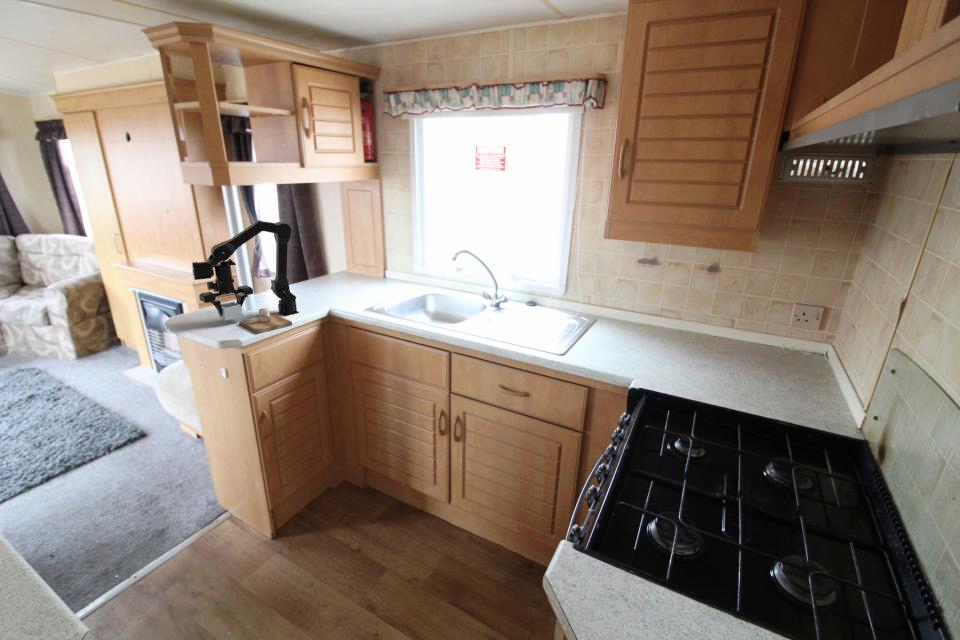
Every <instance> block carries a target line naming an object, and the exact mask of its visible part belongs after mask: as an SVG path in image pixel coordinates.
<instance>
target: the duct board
mask: <svg viewBox="0 0 960 640" xmlns="http://www.w3.org/2000/svg"><path fill="white" fill-rule="evenodd" d="M258 313H259V314H258V315H259V316H255V317H251V318H245V319H241V320H238V321H239V322H238V323H239V325H240V326H242V327H244V328H246V329H248V330H250V331H252V333H253V332H254V333H255V334H257V335H261V334H263V333H267V332H272V331H275V330H279V329H283V328H286V327H291V326H293V322H292V321H291V320H289V319H286V318H284V317H282V316H280V315H278V314H275V313H274V312H273V313H271V312H270V308H268V307H267V308H263V307H262V308H260V309H258Z"/></svg>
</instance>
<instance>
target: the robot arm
mask: <svg viewBox="0 0 960 640" xmlns="http://www.w3.org/2000/svg"><path fill="white" fill-rule="evenodd" d="M262 232H267V233H272V234H273V237H274V240H275V243H276V247H275V249H276V254H275V256H276V257H275V277H274V279H270V284H271V287H270V290H272V293H273V294H274V295H275V296H276V297H277V298H278V299H279V300H278V304H277V308H278V314H279V315H282V316H284V317H288V316H292V315H296V314H299V313H300V311H298V310H297V300H296V299H297V296H296V295H295V294H293V293H292V292H291V290H290V284H289V281H288V244H289V242H290V240H291V235H292V228H291V226H290V225H289V224H287V223H285V222H283V221H277V222H270V221H264V220H260V219H259V220H255V221H254V222H253V223H252V224H251V225H249V226H248V227H246V228H244V229H243V230H242V231H240V232H239V233H238V234H236V235H234V236H233V237H232V238H230V239H228V240H225V241H221V242H219V243H217V244H214V245H213V246H212V247H211V249H210V255H209V257H208V258H207V259H206V261H199V262H198V261H194V262H193V261H192V262H191V267H192V268H191V270H192V275H193V280H195V281H200V280H208V279H212V278H213V276H215V279H214V281H215V282H213V281H207V283H206V287H207V290H208V291H207V292H206V291H205V292H201V293H200V294H199V296H198V297H199V301H201V302H203V303H204V304H207V303H210V304H212V305H213V307H214V308H215V309H216V310H217V313H218V312H219V314H220V316H222V308H221V304H222V303H221V301H220V300H219V298H224V297H229V296H235V301H236V303H237V304H240V305H241V309H242V307H243V304H244V303H245V300H246V298H248V297H249V296H248V295H254V289H253V287H251V286H249V285H246V284H245V285H240V286H237V289H235V286H234V283H235V279H233V274H232V266H236V265H237V263H236V262H234V261H233V260H232V259H231V257H232V256H233V254H235V252H236V251H237V250H238V249H239V248H240V247H241V246H243V245H244V244H246V243H248V241H250V240H251V239H254V238H255V237H256V236H258V235H259V234H260V233H262ZM211 290H212V291H213V292H212V291H211ZM219 314H218V315H219Z"/></svg>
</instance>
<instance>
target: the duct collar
mask: <svg viewBox="0 0 960 640" xmlns="http://www.w3.org/2000/svg"><path fill="white" fill-rule="evenodd" d="M221 308H222V316H220V314H219V312H218V311H217V314H218V317H219V318H220V319H222V320H224V321H228V320H230V321H231V320H233V319H238V318H241V317H242V318H243V312H242V308H241V305H240V304H237V302H235V301H230V302H226V303H221Z"/></svg>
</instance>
